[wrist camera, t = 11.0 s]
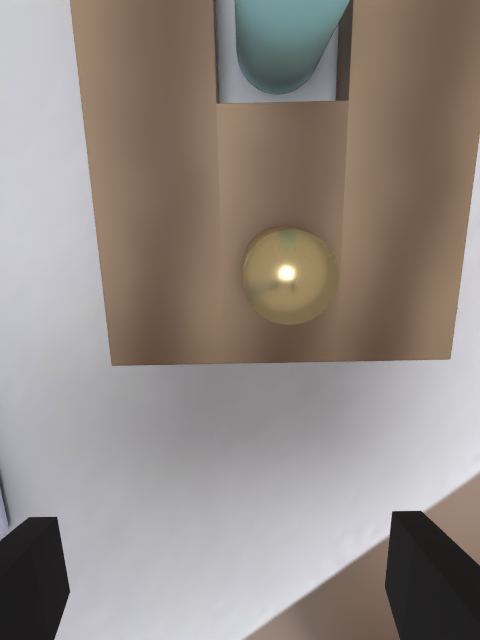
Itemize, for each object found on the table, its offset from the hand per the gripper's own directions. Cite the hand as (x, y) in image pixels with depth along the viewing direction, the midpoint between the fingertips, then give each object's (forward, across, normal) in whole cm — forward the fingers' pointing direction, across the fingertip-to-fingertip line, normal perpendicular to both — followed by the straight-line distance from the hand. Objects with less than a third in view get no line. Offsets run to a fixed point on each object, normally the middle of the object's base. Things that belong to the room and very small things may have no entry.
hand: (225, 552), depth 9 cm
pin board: (+10, -2, -10) cm, 15 cm away
